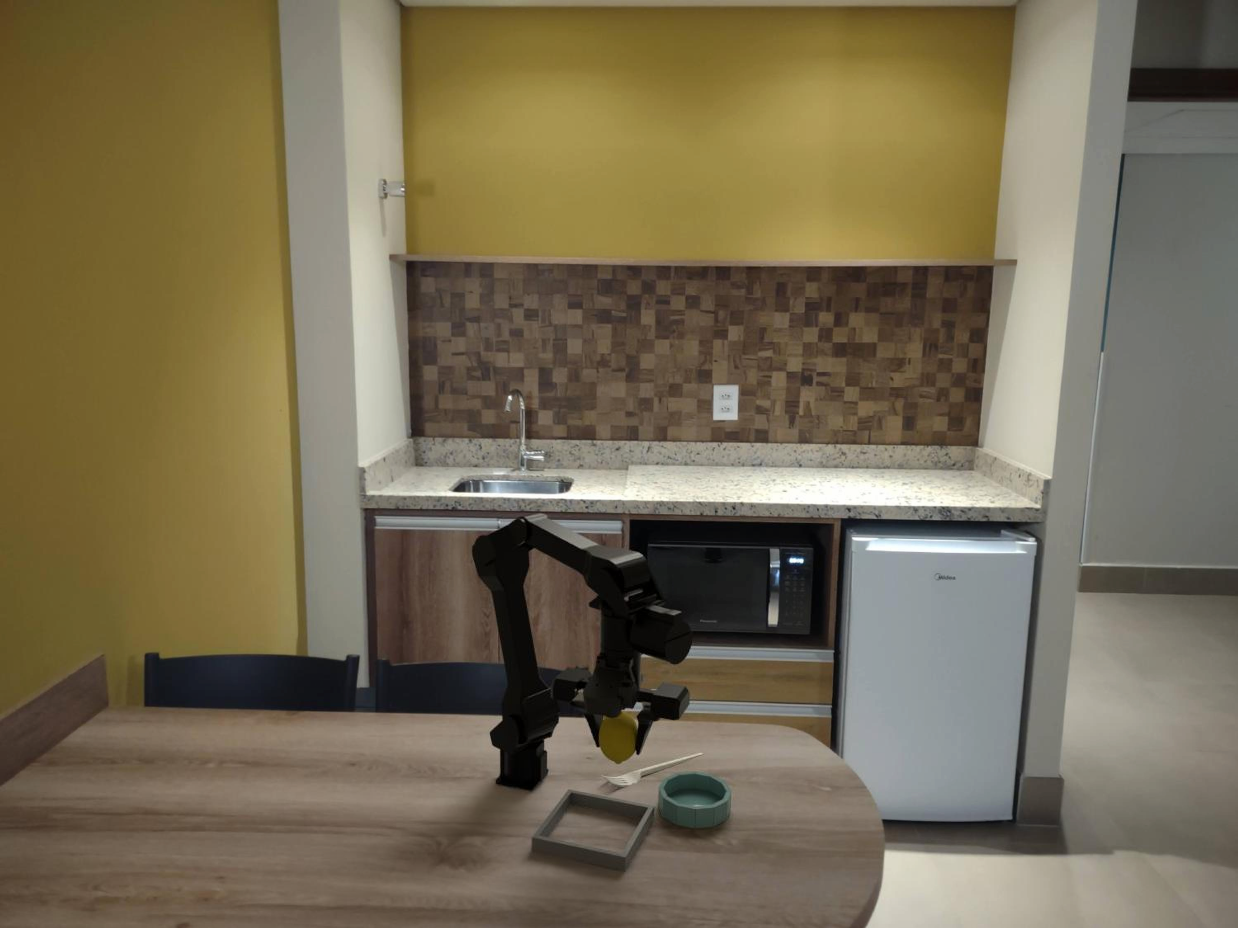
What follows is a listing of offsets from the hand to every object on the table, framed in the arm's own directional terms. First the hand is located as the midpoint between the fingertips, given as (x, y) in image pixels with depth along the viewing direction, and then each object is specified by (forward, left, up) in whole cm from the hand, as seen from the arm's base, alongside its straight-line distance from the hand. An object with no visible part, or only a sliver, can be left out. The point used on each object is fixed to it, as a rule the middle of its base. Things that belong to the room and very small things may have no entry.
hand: (618, 749), depth 129 cm
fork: (0, +18, -13) cm, 22 cm away
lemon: (0, 0, -2) cm, 2 cm away
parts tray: (-3, -2, -12) cm, 12 cm away
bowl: (+9, +9, -12) cm, 18 cm away
